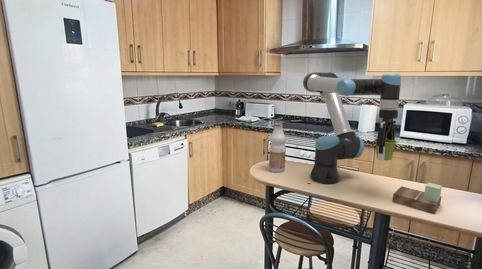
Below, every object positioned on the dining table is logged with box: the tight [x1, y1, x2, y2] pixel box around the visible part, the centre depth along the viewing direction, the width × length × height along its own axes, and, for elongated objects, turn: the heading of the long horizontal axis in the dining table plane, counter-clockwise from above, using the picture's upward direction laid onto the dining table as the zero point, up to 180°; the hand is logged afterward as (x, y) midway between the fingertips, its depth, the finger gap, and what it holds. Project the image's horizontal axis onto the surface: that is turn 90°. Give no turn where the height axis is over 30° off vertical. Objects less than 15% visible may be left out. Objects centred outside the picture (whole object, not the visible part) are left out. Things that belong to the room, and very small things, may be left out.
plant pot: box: [374, 138, 398, 161], centre depth 129 cm, size 9×9×9 cm
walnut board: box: [392, 186, 442, 215], centre depth 125 cm, size 16×12×4 cm
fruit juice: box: [268, 122, 287, 174], centre depth 164 cm, size 9×9×28 cm
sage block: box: [424, 182, 443, 202], centre depth 120 cm, size 5×5×6 cm
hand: (384, 158), depth 130 cm, fingers closed on plant pot, 8 cm apart
